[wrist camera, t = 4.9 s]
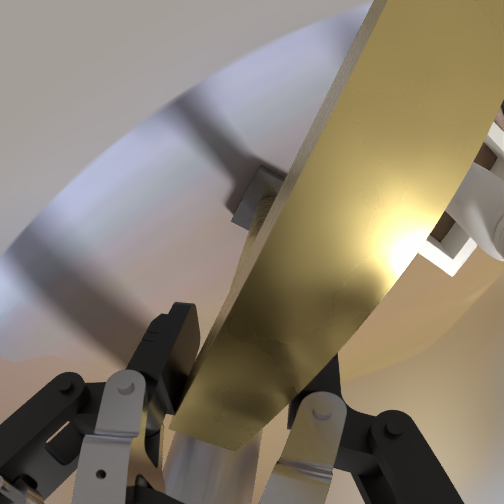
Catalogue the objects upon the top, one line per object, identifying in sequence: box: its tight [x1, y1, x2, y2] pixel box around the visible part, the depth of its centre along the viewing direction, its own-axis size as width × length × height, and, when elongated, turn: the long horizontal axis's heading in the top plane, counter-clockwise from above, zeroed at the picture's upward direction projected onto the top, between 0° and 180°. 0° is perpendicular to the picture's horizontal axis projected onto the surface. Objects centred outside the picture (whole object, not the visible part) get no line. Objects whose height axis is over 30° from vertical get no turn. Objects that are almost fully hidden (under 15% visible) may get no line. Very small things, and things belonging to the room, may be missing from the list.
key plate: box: [231, 165, 285, 230], centre depth 21 cm, size 4×4×1 cm
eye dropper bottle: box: [445, 162, 504, 262], centre depth 13 cm, size 4×6×12 cm
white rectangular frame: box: [418, 122, 504, 277], centre depth 17 cm, size 10×8×2 cm
